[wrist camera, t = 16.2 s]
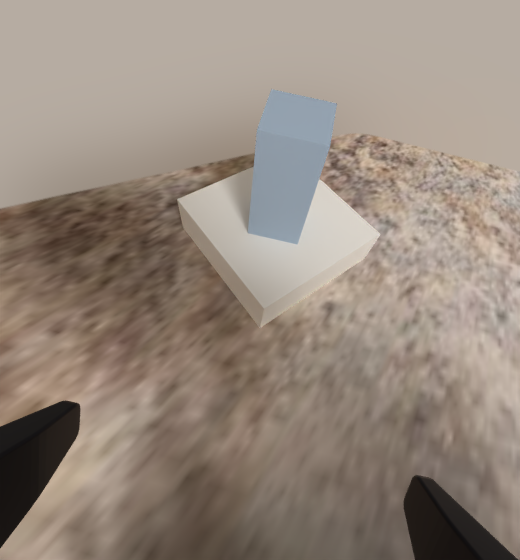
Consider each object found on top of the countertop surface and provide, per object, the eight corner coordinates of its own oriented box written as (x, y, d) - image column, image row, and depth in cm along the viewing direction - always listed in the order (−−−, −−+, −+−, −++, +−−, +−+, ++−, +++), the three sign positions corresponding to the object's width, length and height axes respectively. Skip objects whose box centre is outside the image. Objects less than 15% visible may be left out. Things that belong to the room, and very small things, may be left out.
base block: (362, 261, 29) (380, 234, 26) (259, 330, 25) (264, 308, 22) (282, 183, 34) (289, 151, 30) (183, 230, 29) (177, 199, 26)
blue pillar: (304, 207, 27) (336, 103, 19) (297, 244, 25) (330, 145, 17) (258, 196, 27) (271, 89, 19) (247, 233, 25) (257, 130, 17)
